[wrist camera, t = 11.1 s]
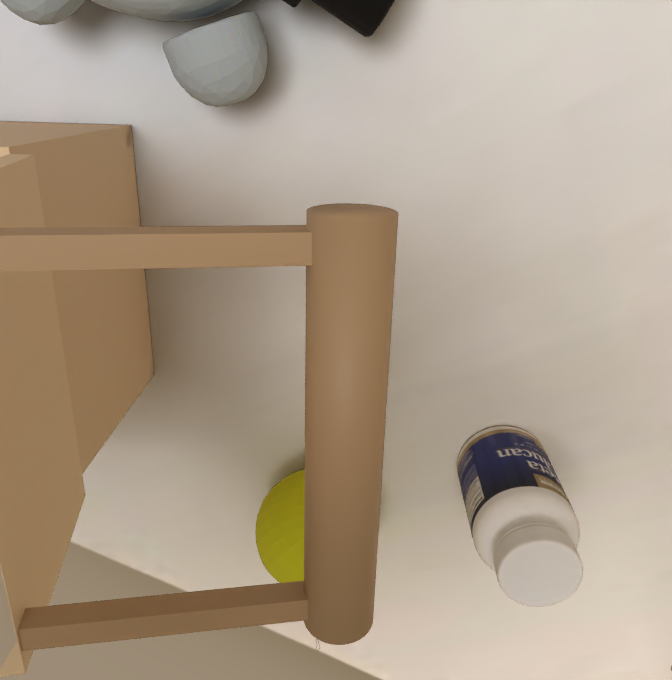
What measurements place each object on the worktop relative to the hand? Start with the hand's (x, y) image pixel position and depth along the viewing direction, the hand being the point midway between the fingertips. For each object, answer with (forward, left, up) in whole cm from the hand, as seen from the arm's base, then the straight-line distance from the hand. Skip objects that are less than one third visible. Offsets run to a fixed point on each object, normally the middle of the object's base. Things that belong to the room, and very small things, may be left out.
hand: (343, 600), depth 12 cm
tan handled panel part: (-11, 0, -7) cm, 13 cm away
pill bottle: (+9, -12, -25) cm, 29 cm away
